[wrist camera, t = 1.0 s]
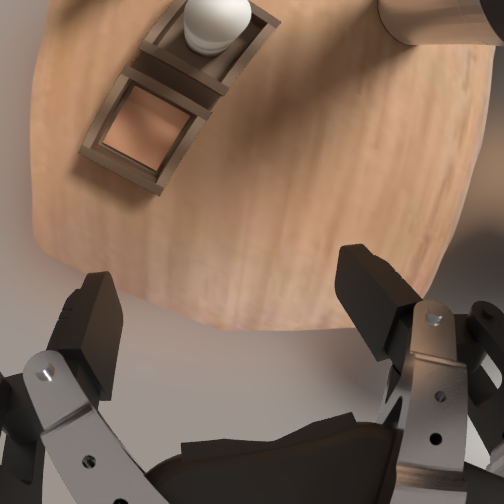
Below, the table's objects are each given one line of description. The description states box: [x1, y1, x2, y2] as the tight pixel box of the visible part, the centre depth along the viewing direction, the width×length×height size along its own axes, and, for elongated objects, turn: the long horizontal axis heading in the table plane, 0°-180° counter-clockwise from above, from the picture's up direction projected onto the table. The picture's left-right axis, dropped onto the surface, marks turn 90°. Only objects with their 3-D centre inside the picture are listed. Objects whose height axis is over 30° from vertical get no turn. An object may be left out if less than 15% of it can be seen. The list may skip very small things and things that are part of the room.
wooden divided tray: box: [78, 0, 281, 196], centre depth 24 cm, size 24×10×12 cm, turn 145°
